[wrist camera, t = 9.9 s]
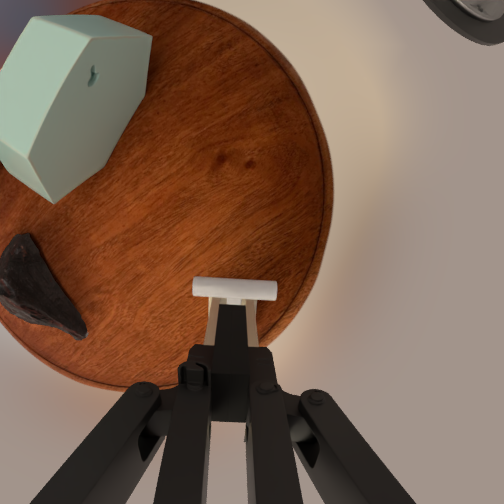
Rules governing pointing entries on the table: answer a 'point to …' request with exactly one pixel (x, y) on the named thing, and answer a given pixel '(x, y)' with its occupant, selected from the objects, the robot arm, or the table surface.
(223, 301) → the faucet bracket
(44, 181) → the planter
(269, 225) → the table surface
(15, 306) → the rock
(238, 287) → the faucet handle
